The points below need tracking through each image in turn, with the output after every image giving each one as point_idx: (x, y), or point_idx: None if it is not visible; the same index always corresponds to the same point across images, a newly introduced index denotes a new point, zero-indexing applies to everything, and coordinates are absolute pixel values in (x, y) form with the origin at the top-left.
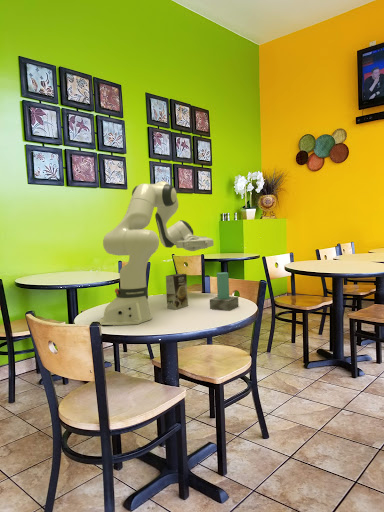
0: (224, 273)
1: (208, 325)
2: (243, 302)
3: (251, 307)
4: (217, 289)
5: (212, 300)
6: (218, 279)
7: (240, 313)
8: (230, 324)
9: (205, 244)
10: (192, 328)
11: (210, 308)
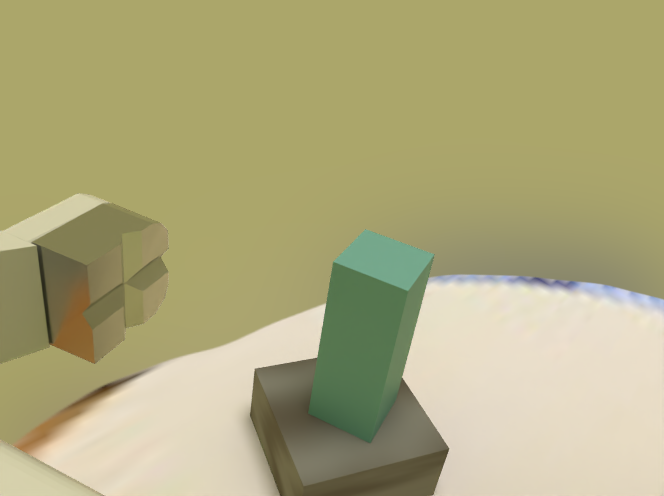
0: (392, 240)
1: (589, 316)
2: (113, 465)
3: (228, 355)
4: (382, 395)
5: (436, 434)
6: (416, 304)
7: None
8: (510, 279)
9: (157, 281)
10: (660, 331)
11: (433, 486)
